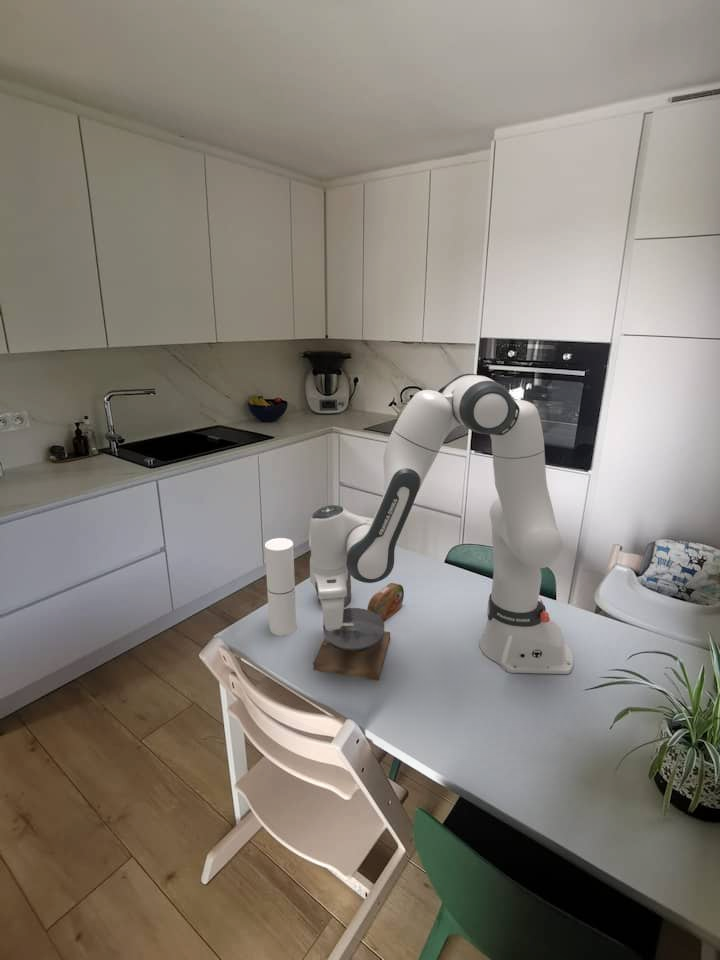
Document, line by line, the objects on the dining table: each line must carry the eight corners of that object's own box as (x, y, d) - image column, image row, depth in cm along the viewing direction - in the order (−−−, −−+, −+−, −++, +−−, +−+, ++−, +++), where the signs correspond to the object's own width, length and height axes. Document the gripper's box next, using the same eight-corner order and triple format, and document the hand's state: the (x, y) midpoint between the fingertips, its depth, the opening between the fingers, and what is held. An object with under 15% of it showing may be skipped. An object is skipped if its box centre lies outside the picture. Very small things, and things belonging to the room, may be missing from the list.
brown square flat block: (390, 638, 130) (390, 619, 128) (379, 680, 116) (379, 659, 114) (331, 629, 134) (331, 610, 132) (313, 669, 119) (312, 648, 117)
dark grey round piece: (383, 614, 130) (383, 594, 128) (385, 652, 115) (385, 630, 113) (325, 614, 130) (325, 594, 128) (320, 651, 116) (320, 629, 114)
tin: (374, 630, 134) (374, 603, 131) (364, 626, 135) (365, 599, 133) (404, 605, 145) (405, 580, 142) (395, 602, 147) (396, 576, 144)
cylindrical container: (264, 631, 133) (259, 547, 124) (278, 617, 139) (274, 536, 131) (287, 638, 130) (284, 552, 122) (301, 623, 136) (298, 540, 128)
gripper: (312, 553, 126) (313, 600, 130) (319, 597, 107) (320, 650, 111) (337, 551, 127) (337, 598, 131) (348, 594, 108) (348, 647, 112)
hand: (329, 622), depth 121 cm, fingers open, 4 cm apart
